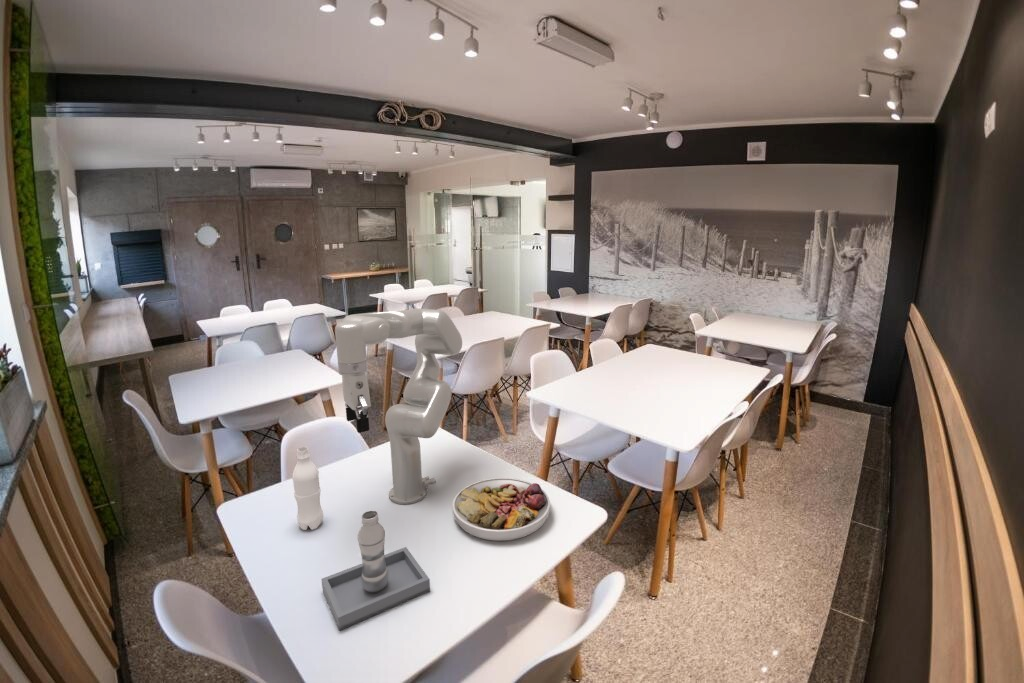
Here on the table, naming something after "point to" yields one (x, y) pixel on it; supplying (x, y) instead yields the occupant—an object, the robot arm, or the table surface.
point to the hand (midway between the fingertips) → (357, 425)
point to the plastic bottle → (372, 553)
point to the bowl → (501, 508)
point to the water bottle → (307, 491)
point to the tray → (359, 605)
